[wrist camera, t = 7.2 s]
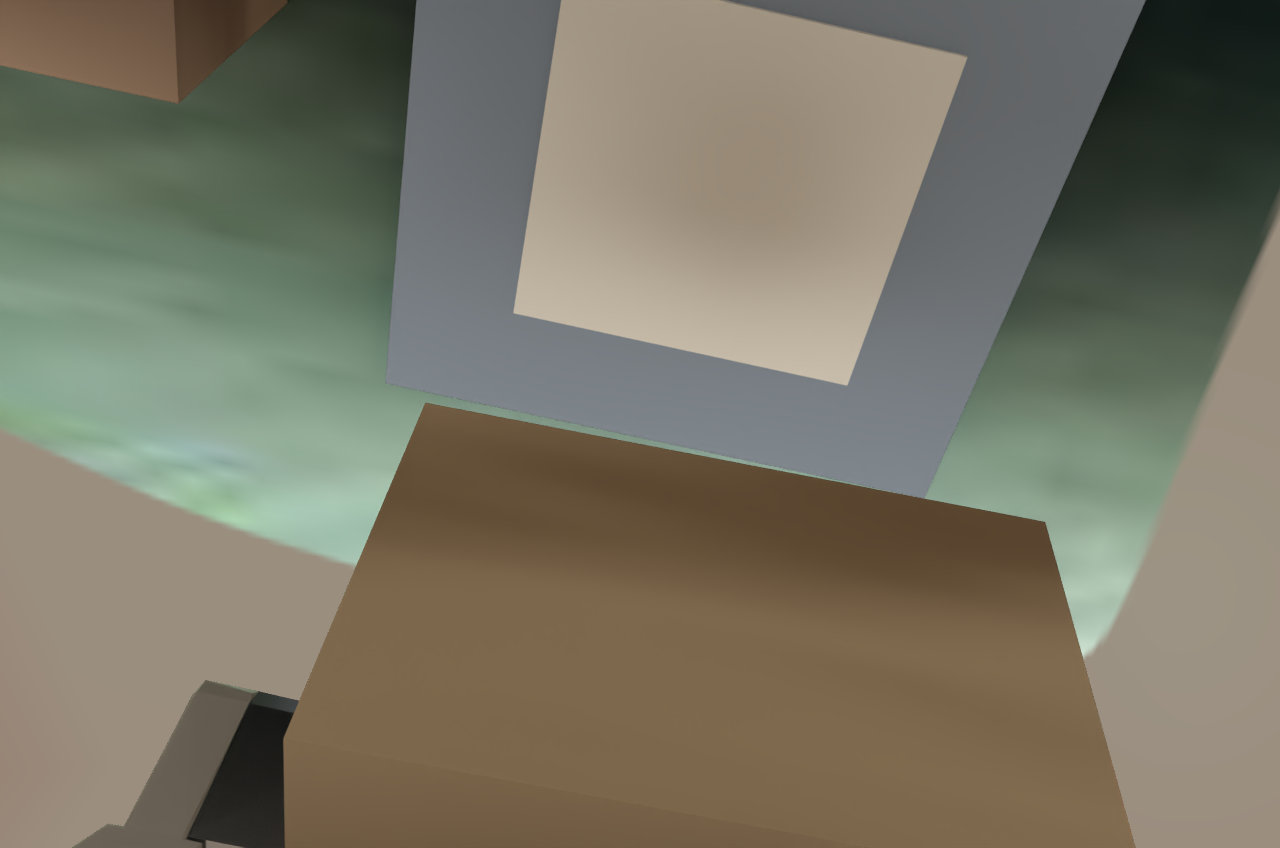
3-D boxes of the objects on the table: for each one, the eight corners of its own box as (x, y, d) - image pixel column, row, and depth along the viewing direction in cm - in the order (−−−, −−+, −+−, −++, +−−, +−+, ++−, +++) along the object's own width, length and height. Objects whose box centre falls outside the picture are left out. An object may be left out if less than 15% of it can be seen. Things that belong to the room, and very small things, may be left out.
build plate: (444, -239, 19) (433, -233, 19) (1163, -71, 20) (1174, -59, 19) (392, 367, 26) (384, 385, 26) (921, 481, 27) (924, 501, 26)
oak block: (425, 402, 11) (283, 739, 8) (1044, 521, 11) (1150, 899, 8) (395, 792, 15) (288, 1135, 12) (869, 879, 15) (894, 1243, 12)
